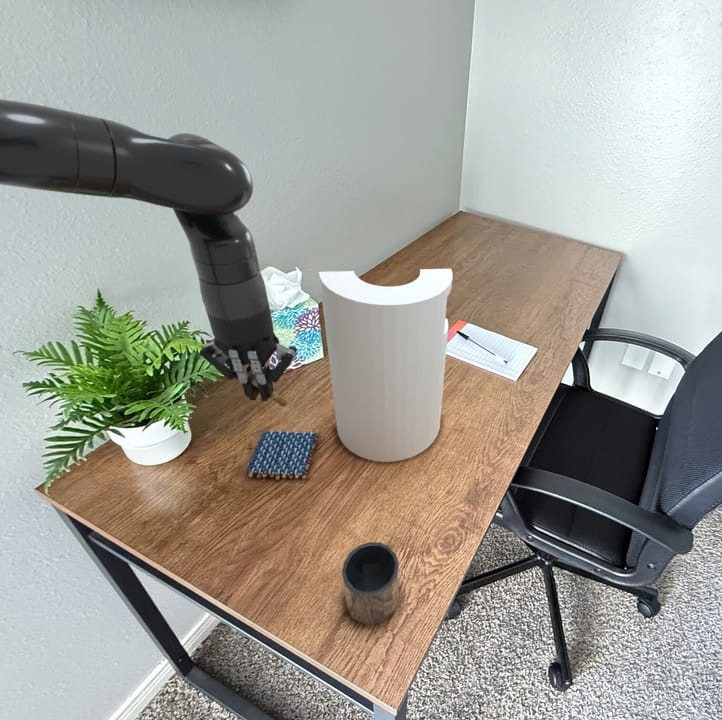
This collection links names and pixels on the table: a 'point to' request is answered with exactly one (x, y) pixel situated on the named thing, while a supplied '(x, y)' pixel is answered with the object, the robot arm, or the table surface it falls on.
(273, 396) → the stirrer
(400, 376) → the white curved half cylinder
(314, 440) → the woven mat
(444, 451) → the table surface
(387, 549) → the cup
